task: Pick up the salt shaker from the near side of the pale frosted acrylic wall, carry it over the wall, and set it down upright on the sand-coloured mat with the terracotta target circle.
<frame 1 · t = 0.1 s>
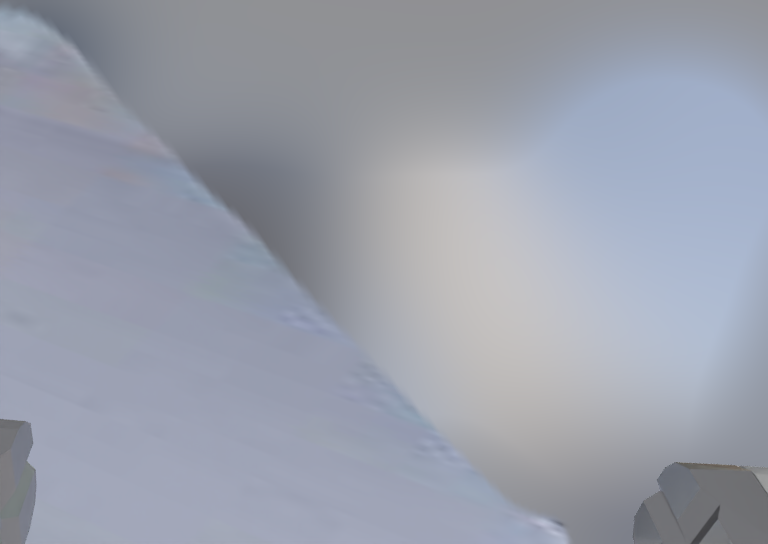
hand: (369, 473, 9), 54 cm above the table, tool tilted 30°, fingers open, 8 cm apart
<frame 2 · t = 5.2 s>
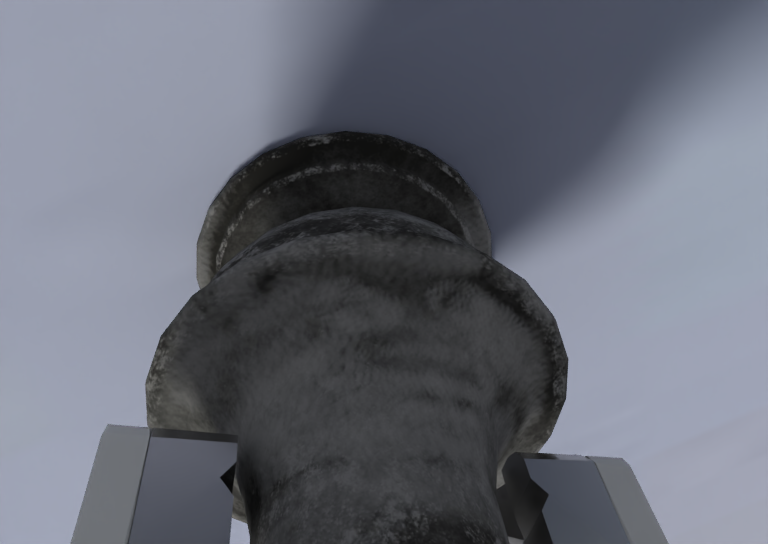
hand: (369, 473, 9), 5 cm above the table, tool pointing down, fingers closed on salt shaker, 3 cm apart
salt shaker: (346, 261, 13), on the table, touching gripper
when the fingers open (7 cm above the table, at t = 12.5 s): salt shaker stays where it is, resting on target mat.
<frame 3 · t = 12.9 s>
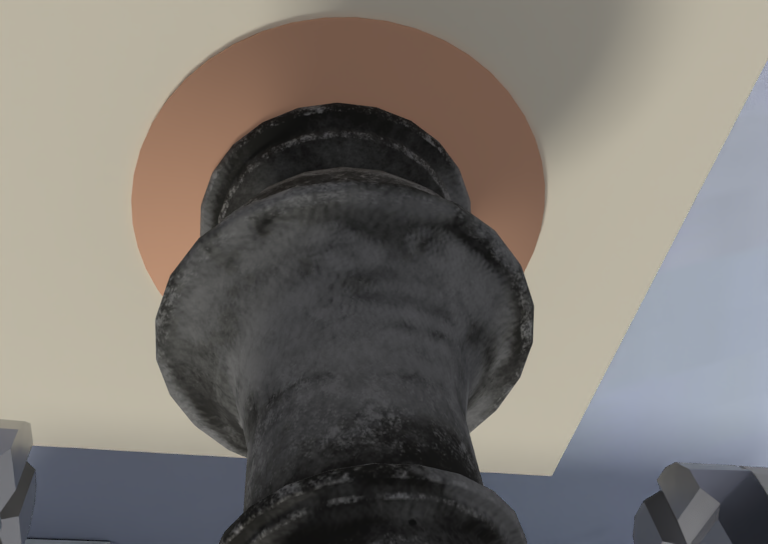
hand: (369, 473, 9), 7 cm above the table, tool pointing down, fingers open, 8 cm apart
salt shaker: (337, 225, 14), point 1 cm above the table, touching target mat
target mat: (342, 209, 15), on the table
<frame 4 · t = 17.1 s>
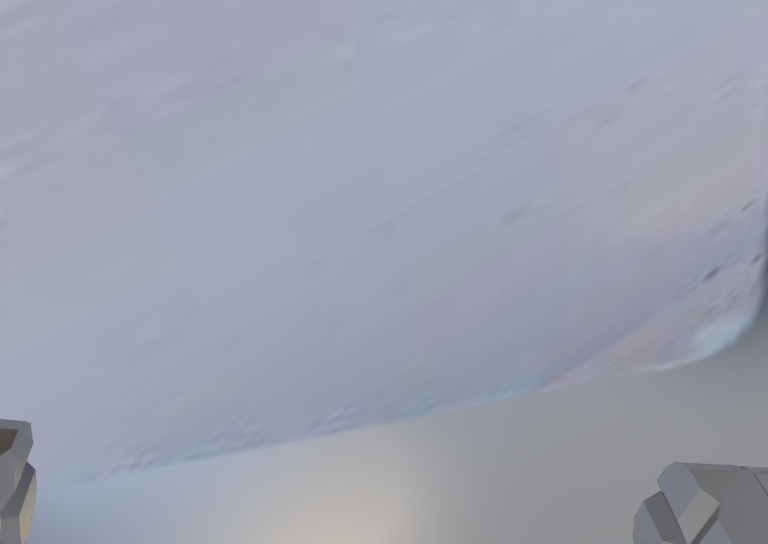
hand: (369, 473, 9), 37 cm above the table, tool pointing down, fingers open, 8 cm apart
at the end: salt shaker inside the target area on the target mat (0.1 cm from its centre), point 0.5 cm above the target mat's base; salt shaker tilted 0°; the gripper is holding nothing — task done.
